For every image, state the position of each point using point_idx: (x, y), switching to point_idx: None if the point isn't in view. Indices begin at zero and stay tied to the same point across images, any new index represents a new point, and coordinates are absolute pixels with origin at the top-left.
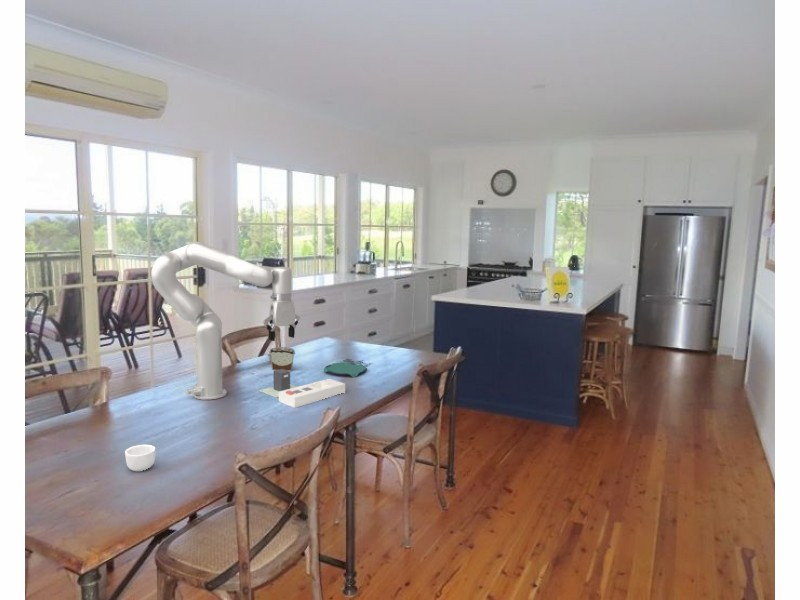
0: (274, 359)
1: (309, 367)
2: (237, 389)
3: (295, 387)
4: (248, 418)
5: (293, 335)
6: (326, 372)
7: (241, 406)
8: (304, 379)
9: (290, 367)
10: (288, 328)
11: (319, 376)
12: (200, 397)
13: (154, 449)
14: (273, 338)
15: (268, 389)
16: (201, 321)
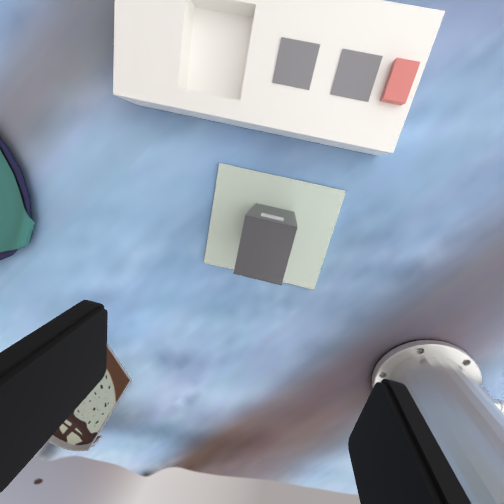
0: (105, 403)
1: (37, 311)
2: (334, 350)
3: (302, 132)
4: None
5: (79, 315)
6: (34, 224)
7: (485, 232)
8: (129, 247)
9: None
10: (9, 482)
11: (73, 227)
12: (481, 379)
13: None
14: (415, 412)
15: (293, 269)
16: None
